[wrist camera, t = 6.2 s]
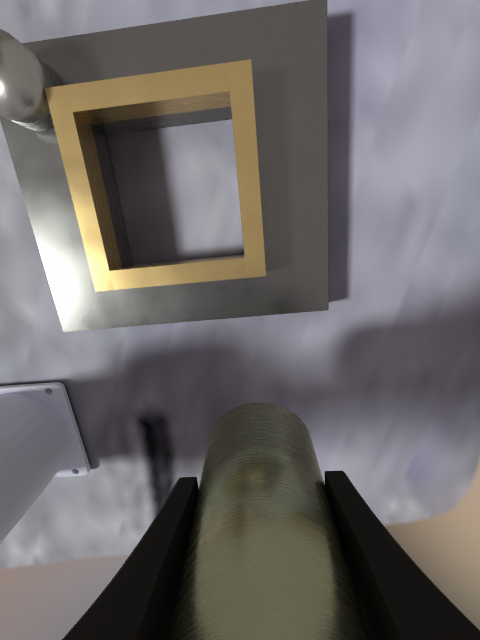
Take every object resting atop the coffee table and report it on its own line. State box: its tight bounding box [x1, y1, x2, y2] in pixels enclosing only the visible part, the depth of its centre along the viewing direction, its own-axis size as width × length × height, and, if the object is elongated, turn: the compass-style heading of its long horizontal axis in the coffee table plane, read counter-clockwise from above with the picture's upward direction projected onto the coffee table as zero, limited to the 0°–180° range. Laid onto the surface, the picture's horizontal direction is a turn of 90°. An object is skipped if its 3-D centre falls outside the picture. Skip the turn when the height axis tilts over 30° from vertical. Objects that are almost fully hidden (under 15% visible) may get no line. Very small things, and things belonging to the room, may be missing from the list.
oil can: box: [169, 403, 370, 640], centre depth 8 cm, size 5×5×10 cm
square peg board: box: [0, 0, 328, 332], centre depth 14 cm, size 16×14×4 cm
